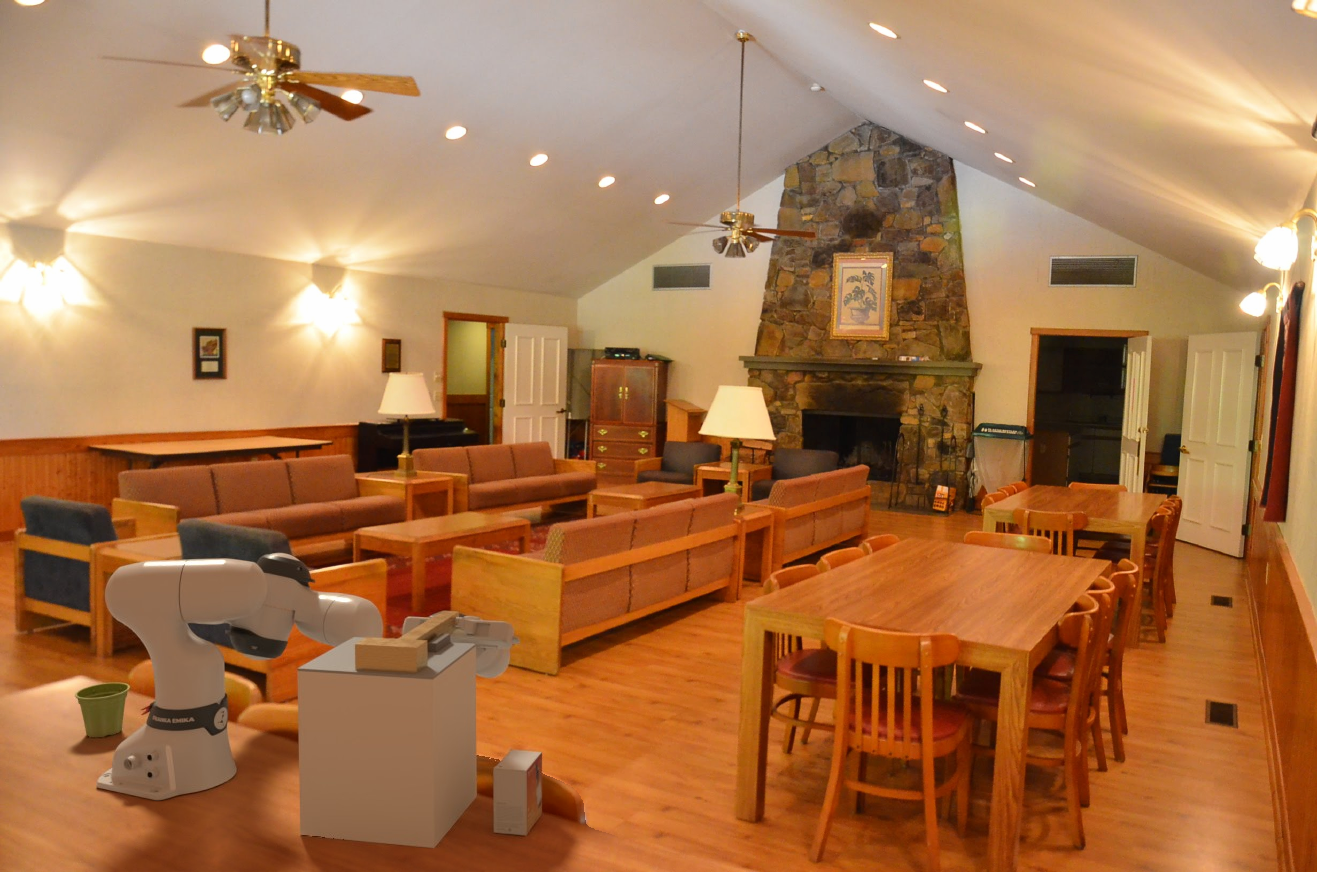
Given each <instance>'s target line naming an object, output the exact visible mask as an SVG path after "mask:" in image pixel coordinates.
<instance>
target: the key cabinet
mask: <svg viewBox="0 0 1317 872" xmlns="http://www.w3.org/2000/svg"><path fill="white" fill-rule="evenodd" d="M363 639H365V638H363V637H353V638H351V639H350V640H348V641H346V642H344V643H342V644H341V645H339V646H337V647H332V649H330V650H328V651H326V652H324V653H323V654H321V655H319V656H317V657H315V658H314V659H312V660H310V661H308V662H306V663H304V664H303V665H301V666H299V667H298V668H297V669H296V670H297V716H298V717H297V718H298V720H297V722H298V723H297V724H298V725H297V726H298V766H299V767H298V769H299V770H298V772H299V773H298V774H299V779H298V781H299V783H298V784H299V824H300V825H299V827H300V828H299V831H300V834H299V835H300V836H301V835H312V836H321V837H320V838H322V837H325V839H333V838H334V839H335V840H343V839H344V840H345V841H357V842H363V843H375V844H376V843H377V844H388V845H399V846H407V847H420V848H421V847H422V848H428V849H429V848H430V849H435V848H436V847H437V846H438V845H439V843H440V842H441V841H442V840H443V838H444V837H445V836H446V835H447V833H449V831H450V830H451V829H452V828H453V826H454V825H455V824H456V823H457V821H458V820H459V819H460V818H461V816H463V814H464V813H465V811H466V810H467V809H468V808H469V807H470V805H471V804H472V803H473V802H474V801H475V799H476V798H478V796H477V793H478V790H477V789H478V787H477V785H478V784H477V782H478V781H477V779H478V778H477V773H478V772H477V770H478V769H477V767H478V766H477V758H478V757H477V675H476V644H470V643H452V642H450V634H447V633H442V634H440V635H439V636H437V637H436V638H434V639H433V640H431V641H430V642H428V650H427V651H428V666H427V667H425V668H424V669H423V670H421V671H420V672H419V673H417V674H414V673H397V672H381V671H365V670H355V644H356V643H358V642H360V641H361V640H363ZM312 836H311V837H312Z"/></svg>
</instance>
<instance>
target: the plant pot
mask: <svg viewBox="0 0 1317 872" xmlns="http://www.w3.org/2000/svg"><path fill="white" fill-rule="evenodd" d="M130 689H131V685H129V684H128V683H124V682H105V683H98V684H94V685H90V686H86V687H83V688H81V689H79V690H78V691H76V692H75V693H74V697H75V698H76V699H77V702H78V704H79V706H80V711H81V714H82V719H83V723H84V725H83V726H84V728H85V729H84V730H85V734H86V736H87V737H88V736H89V737H88V738H91V737H102V738H104V737H106V736H109V735H110V736H114V735H116V733H117V734H119V733H120V732H122V729H123V723H124V721H123V720H124V712H125V705H126V698H127V697H128V692H129V690H130Z"/></svg>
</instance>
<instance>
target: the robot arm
mask: <svg viewBox="0 0 1317 872" xmlns="http://www.w3.org/2000/svg"><path fill="white" fill-rule="evenodd" d="M310 583H312V584H313V583H314V584H315V583H316V580H315V579H313V578H312V577H311V573H310V570H309V568H308V567H307V565H306V564H305V563H304V562H303V561H302V560H299V559H298V558H297V557H295V556H294V555H291V554H290V553H289V554H288V553H284V552H275V553H270V554H269V553H267V554H264V555H262V556H260V557H259V559H258V560H257V562H254V561H249V560H242V559H237V558H236V559H234V558H222V557H221V558H194V559H193V558H191V559H166V560H164V559H163V560H162V559H159V560H156V559H155V560H145V561H140V562H136V563H135V562H134V563H130V564H126V565H122V566H119V567H118V568H117V569H115V571H114V572H113V574H112V575H110V577H109V579H108V580H107V583H106V587H105V590H104V601H105V604H106V608H107V610H108V612H109V613H110V614H111V616H112V617H113V618H114V619H115V620H116V621H118V622H120V623H122V624H123V625H124V626H126V627H128V629H130V630H132V632H133V633H135V635H136V636H137V637H138V638H139V639H140V641H141V642H142V644H143V645H144V647H145V648H146V650H147V652H148V655H149V657H150V660H151V664H152V671H153V683H154V696H155V697H154V700H155V701H153V702H151V703H150V704H149V705H148V706H145V707H143V708H141V709H140V711H142V712H141V714H140V716H144V715H146V714H148V717H147V719H146V722H145V723H144V724H143V725H141V726H140V727H139V728H138V729H136V730H135V731H134V732H133V733H132V734H130V735H129V736H128V737H127V738H125V739H124V740H123V741H122V742H120V743H119V744H118V746H117V747H116V749H115V751H114V753H113V757H112V764H111V768H109V769H107V770H106V771H104V772H103V773H102V774H101V775H100V776H99V777H98V778H97V781H96V788H99V789H104V790H108V791H113V792H117V793H122V794H126V795H130V796H134V797H140V798H144V799H149V800H153V801H162V800H166V799H169V798H173V797H176V796H181V795H186V794H190V793H196V792H201V791H205V790H208V789H211V788H215V787H216V786H219V785H221V784H224V783H226V782H228V781H229V780H231V779H232V778H233V777H234V776H235V775H236V773H237V771H238V770H237V766H236V762H235V760H234V757H233V753H232V748H231V745H230V739H229V731H228V721H229V700H228V697H229V696H228V694H227V693H226V684H225V683H226V682H225V679H226V678H225V674H226V673H225V657H224V654H223V652H222V651H221V649H220V648H219V646H217V645H215V644H214V643H213V642H211V641H209V640H206V639H204V638H202V637H199V636H198V635H196V634H195V633H194V631H192V630H191V628H190V626H189V624H198V625H199V624H200V625H221V624H229V625H228V627H229V630H224V631H225V634H226V635H228V636H229V639H230V642H231V645H232V646H233V648H234V649H235V650H236V652H238V653H240V654H241V655H243V656H245V657H246V658H249V659H250V660H254V661H267V660H273V659H275V660H276V659H278V658H280V657H281V656H282V655H283V653H284V652H285V650H286V649H287V646H288V644H289V641H288V640H289V637H290V635H291V634H292V631H293V627H294V625H295V626H296V629H297V630H298V632H300V633H301V634H302V635H303V636H305V637H307V638H309V639H311V640H313V641H316V642H318V643H321V644H324V645H327V646H331V647H333V648H335V647H337V646H339V645H341V644H342V643H344V642H346V641H348V640H350V639H351V638H353V637H363V638H366V637H374V638H383V636H384V635H383V634H384V623H383V618H382V615H381V612H380V611H379V609H378V607H377V606H376V604H374V603H373V602H372V601H371V600H369V599H366V598H364V597H361V596H358V595H354V594H348V593H342V592H341V593H340V592H330V591H329V592H328V591H327V592H326V591H317V590H313V589H312V588H311V586H310ZM442 611H443V610H441V611H438V612H436V613H433V614H431V615H429V616H427V617H423V616H422V617H421V616H407V617H406V618H404V621H403V624H402V631H401V636H403V635H404V634H406V633H408V632H409V631H411V630H413V629H414V628H416V627H417V626H419V625H421V624H422V623H424V622H426V621H427V620H429V619H430V618H432V617H434V616H435V615H437V614H438V613H440V612H442ZM453 627H454V628H455V629H457V630H456V631H454V632H453V633H451V634H450V642H452V643H470V644H476V676H479V677H481V678H486V679H493V678H497V677H500V676H501V675H502V674H503V673H505V672H506V670H507V668H508V667H509V665H510V661H511V651H510V649H512V647H513V646H515V645H520V643H521V639H520V638H519V637H518V636H515V635H514V634H515V629H514V627H513V625H512V624H511V623H510V622H507V621H500V620H483V619H482V618H480V617H478V616H474V615H465V614H463V613H460V612H459V617H454V622H453Z"/></svg>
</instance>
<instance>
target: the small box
mask: <svg viewBox="0 0 1317 872" xmlns="http://www.w3.org/2000/svg"><path fill="white" fill-rule="evenodd" d="M492 776H493V777H492V779H493V780H492V781H493V788H492V789H493V801H492V802H493V833H496V834H504V835H516V836H527V835H528V834H529V833H530V831H531V830H532V828H533V827H534V825H535V824H536V823H537V822H538V820H539V818H541V816H542V815H543V752H541V751H531V750H520V749H510V750H509V751H508V752H507V754H505V756H504V757H503V758H502V759H501V760H500V761H499V762H498V763H497V765H495V766H494V767H493V773H492Z"/></svg>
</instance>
